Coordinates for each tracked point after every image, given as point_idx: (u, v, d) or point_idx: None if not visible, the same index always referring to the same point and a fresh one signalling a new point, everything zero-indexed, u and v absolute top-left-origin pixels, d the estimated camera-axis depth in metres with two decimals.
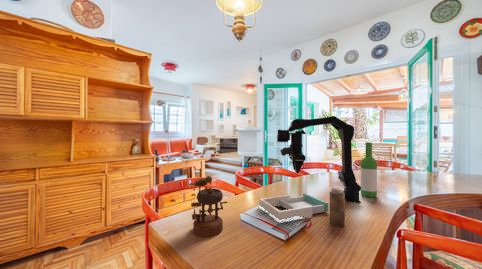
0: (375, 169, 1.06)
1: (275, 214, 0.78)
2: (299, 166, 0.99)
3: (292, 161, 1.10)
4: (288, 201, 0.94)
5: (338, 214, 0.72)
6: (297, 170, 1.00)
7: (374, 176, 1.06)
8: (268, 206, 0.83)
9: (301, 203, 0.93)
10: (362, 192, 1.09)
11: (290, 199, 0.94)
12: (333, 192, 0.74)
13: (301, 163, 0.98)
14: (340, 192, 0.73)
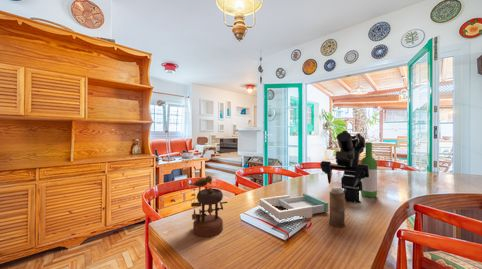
0: (375, 169, 1.06)
1: (275, 214, 0.78)
2: (357, 180, 0.80)
3: (330, 172, 0.86)
4: (288, 201, 0.94)
5: (338, 214, 0.72)
6: (355, 183, 0.79)
7: (374, 176, 1.05)
8: (268, 206, 0.83)
9: (301, 203, 0.93)
10: (362, 192, 1.09)
11: (290, 199, 0.94)
12: (333, 192, 0.74)
13: (359, 178, 0.81)
14: (340, 192, 0.73)
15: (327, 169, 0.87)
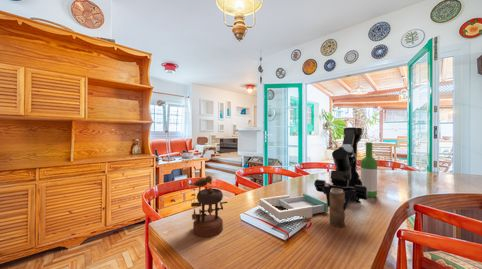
0: (375, 169, 1.06)
1: (275, 214, 0.78)
2: (349, 202, 0.74)
3: (329, 194, 0.78)
4: (288, 201, 0.94)
5: (338, 214, 0.72)
6: (346, 206, 0.73)
7: (374, 176, 1.06)
8: (268, 206, 0.83)
9: (301, 203, 0.93)
10: None
11: (290, 199, 0.94)
12: (333, 192, 0.74)
13: (351, 200, 0.75)
14: (340, 192, 0.73)
15: (326, 190, 0.79)
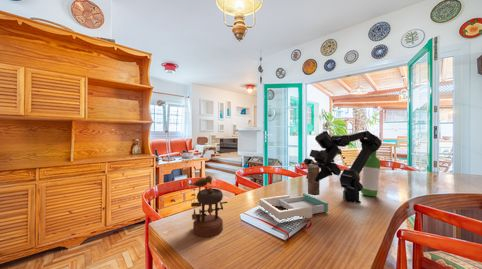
0: (378, 168, 1.07)
1: (275, 214, 0.78)
2: (322, 176, 0.88)
3: None
4: (288, 201, 0.94)
5: (311, 184, 0.89)
6: (318, 178, 0.88)
7: (376, 175, 1.06)
8: (268, 206, 0.83)
9: (301, 203, 0.93)
10: (362, 190, 1.09)
11: (290, 199, 0.94)
12: (309, 167, 0.92)
13: (326, 175, 0.89)
14: (313, 167, 0.90)
15: None
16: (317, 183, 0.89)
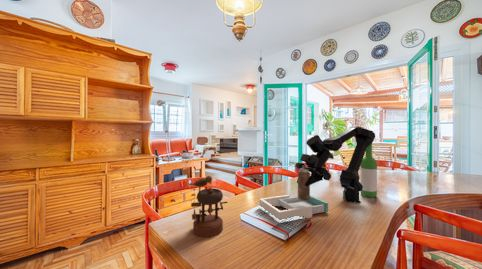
0: (375, 169, 1.06)
1: (275, 214, 0.78)
2: (313, 181, 0.87)
3: None
4: (288, 201, 0.94)
5: (301, 189, 0.88)
6: (308, 183, 0.86)
7: (374, 176, 1.06)
8: (268, 206, 0.83)
9: (301, 203, 0.93)
10: (362, 192, 1.09)
11: (290, 199, 0.94)
12: (299, 171, 0.90)
13: (316, 180, 0.87)
14: (303, 171, 0.88)
15: None
16: (307, 188, 0.87)
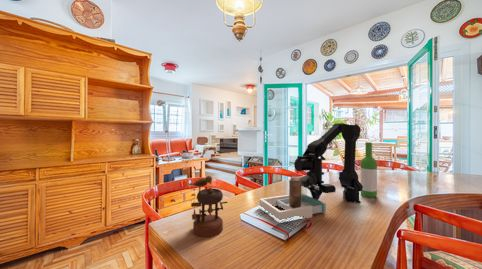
0: (375, 169, 1.06)
1: (275, 214, 0.78)
2: (318, 195, 0.91)
3: (312, 192, 0.92)
4: (286, 201, 0.93)
5: (292, 198, 0.86)
6: None
7: (374, 176, 1.06)
8: (268, 206, 0.83)
9: None
10: (362, 192, 1.09)
11: (288, 199, 0.94)
12: None
13: (321, 192, 0.91)
14: (294, 180, 0.86)
15: None
16: (298, 197, 0.86)
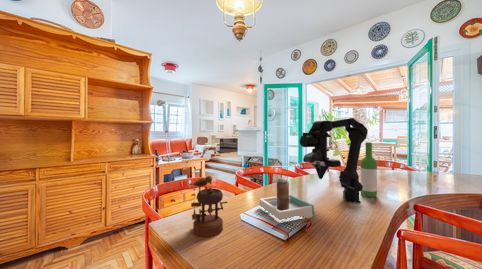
0: (375, 169, 1.06)
1: (275, 214, 0.78)
2: (324, 171, 0.93)
3: (317, 169, 0.94)
4: (274, 203, 0.91)
5: (279, 200, 0.84)
6: (321, 176, 0.93)
7: (374, 176, 1.06)
8: (268, 206, 0.83)
9: None
10: (362, 192, 1.09)
11: (276, 201, 0.91)
12: (278, 181, 0.86)
13: (326, 168, 0.93)
14: (282, 181, 0.84)
15: (315, 166, 0.95)
16: (286, 199, 0.83)
